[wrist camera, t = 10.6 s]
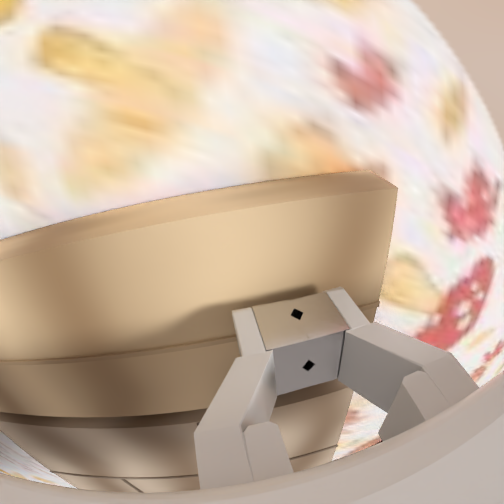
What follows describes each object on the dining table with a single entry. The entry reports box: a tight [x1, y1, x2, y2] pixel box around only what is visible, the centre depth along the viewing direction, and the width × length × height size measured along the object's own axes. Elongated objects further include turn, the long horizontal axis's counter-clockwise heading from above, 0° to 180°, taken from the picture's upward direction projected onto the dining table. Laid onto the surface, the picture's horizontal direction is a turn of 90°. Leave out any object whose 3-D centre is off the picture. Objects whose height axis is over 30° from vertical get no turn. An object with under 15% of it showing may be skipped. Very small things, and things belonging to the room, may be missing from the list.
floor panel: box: [0, 379, 353, 493], centre depth 15 cm, size 20×14×2 cm
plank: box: [0, 170, 398, 417], centre depth 9 cm, size 20×9×2 cm, turn 96°
